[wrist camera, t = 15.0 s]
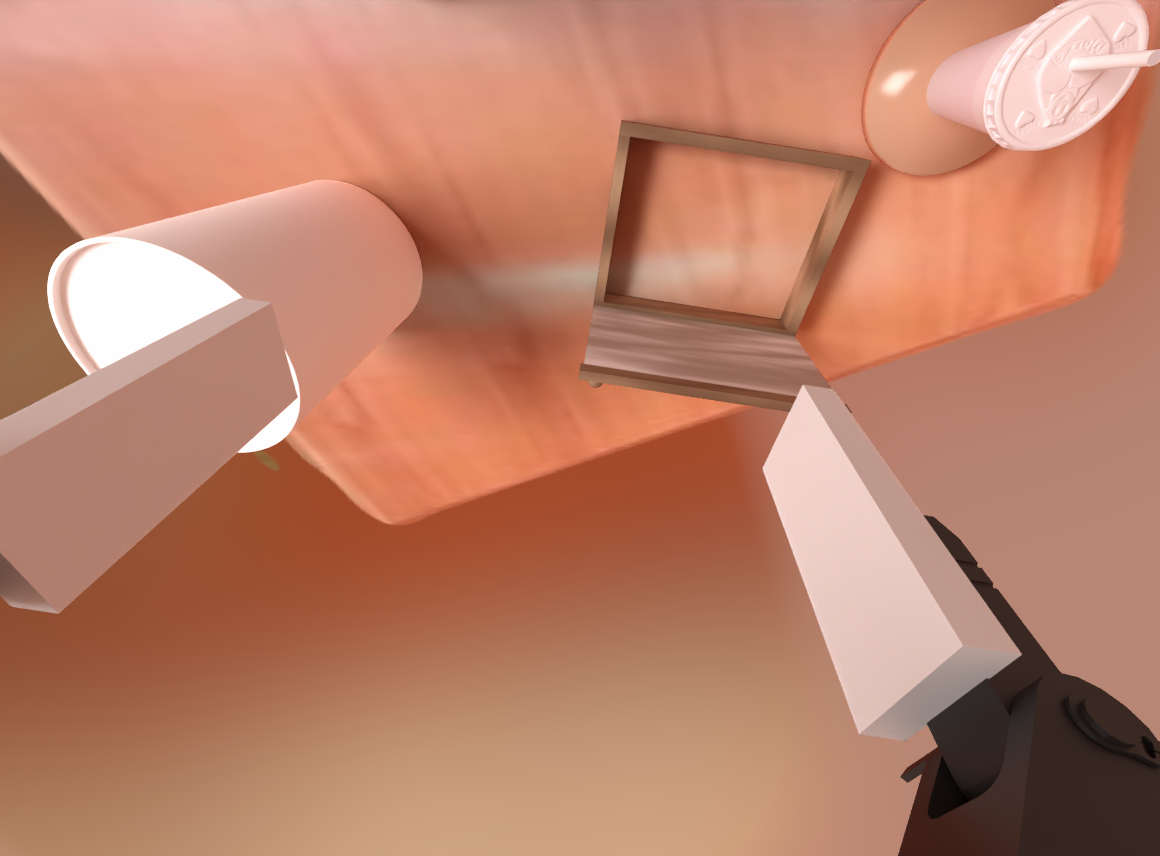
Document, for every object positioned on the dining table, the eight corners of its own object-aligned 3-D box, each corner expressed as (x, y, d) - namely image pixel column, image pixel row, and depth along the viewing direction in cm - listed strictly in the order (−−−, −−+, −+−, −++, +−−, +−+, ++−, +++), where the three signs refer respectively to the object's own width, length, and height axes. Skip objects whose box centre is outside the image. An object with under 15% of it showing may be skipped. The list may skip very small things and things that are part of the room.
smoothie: (1029, 8, 28) (1295, -54, 17) (997, 129, 32) (1198, 145, 21) (915, 34, 30) (1091, -6, 18) (895, 148, 33) (1033, 174, 22)
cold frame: (619, 119, 35) (614, 130, 23) (859, 157, 35) (980, 187, 23) (590, 316, 44) (575, 397, 32) (780, 345, 44) (837, 437, 32)
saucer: (914, -41, 29) (924, -46, 28) (1088, -13, 29) (1104, -17, 28) (834, 161, 35) (840, 163, 34) (976, 183, 35) (986, 186, 34)
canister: (419, 195, 39) (269, 264, 23) (425, 340, 47) (318, 468, 31) (259, 165, 39) (-8, 213, 22) (293, 316, 47) (114, 432, 30)
